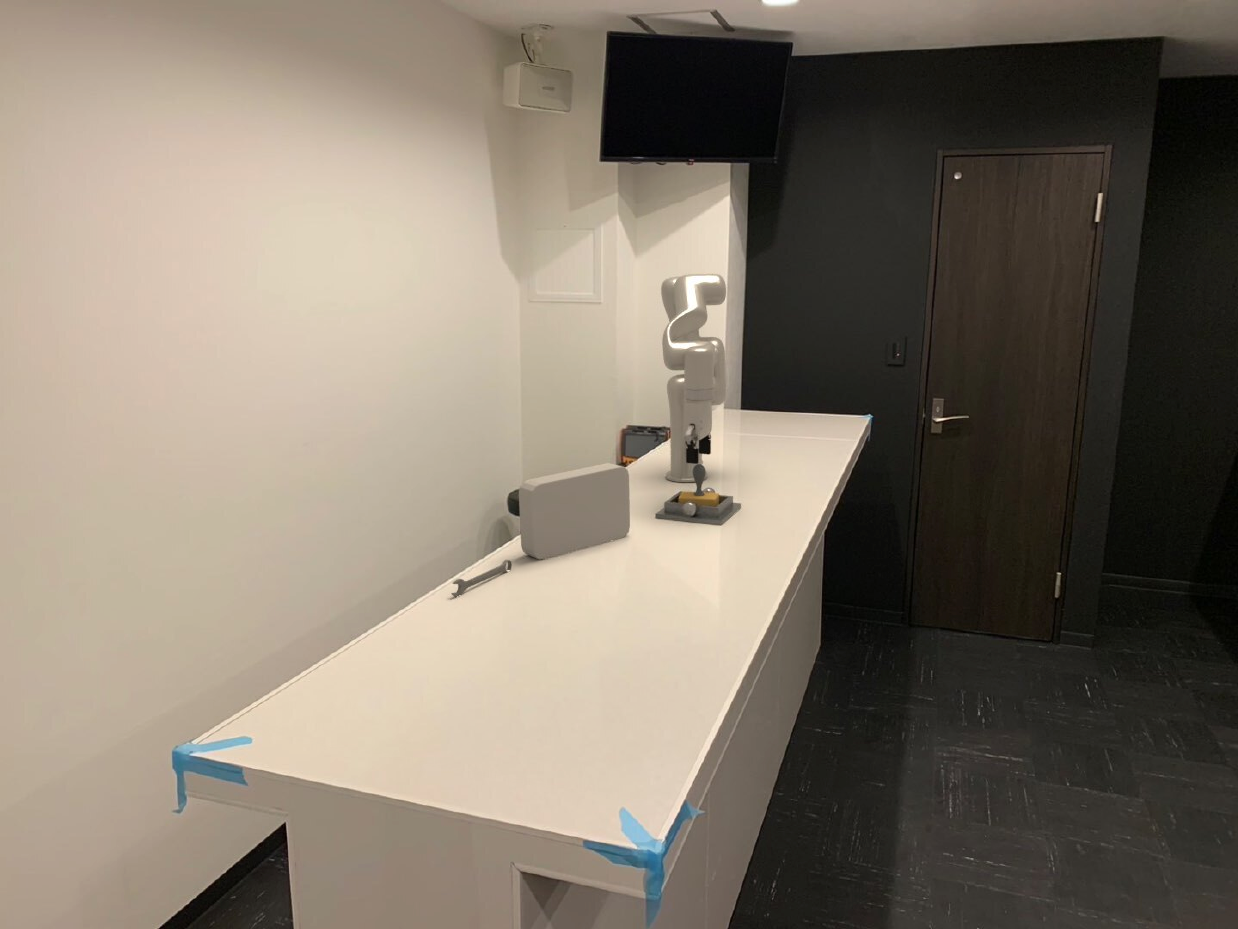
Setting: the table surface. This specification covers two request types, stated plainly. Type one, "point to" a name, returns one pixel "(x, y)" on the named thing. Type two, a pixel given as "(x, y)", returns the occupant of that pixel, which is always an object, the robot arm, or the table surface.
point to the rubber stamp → (699, 490)
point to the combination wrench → (480, 577)
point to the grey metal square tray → (699, 510)
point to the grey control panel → (574, 510)
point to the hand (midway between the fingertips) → (698, 458)
